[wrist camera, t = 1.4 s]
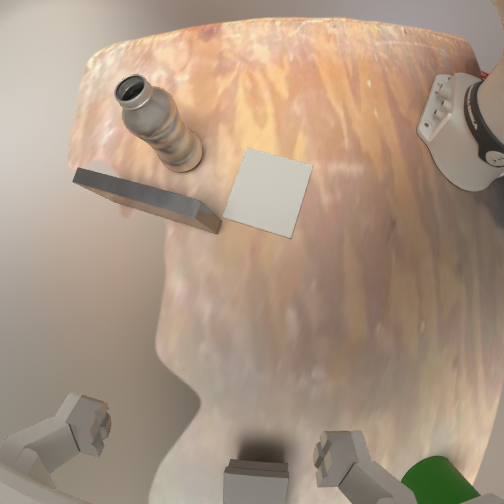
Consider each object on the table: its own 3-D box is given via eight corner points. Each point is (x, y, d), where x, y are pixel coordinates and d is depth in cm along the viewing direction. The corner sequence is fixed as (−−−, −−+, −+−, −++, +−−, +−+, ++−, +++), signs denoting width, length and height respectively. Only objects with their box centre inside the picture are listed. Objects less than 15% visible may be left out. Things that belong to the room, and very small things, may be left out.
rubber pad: (247, 149, 47) (246, 147, 46) (312, 167, 45) (312, 166, 45) (223, 217, 46) (222, 217, 45) (290, 238, 45) (290, 238, 44)
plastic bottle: (192, 182, 47) (136, 122, 27) (157, 166, 48) (91, 106, 28) (213, 146, 47) (172, 70, 27) (178, 131, 48) (125, 58, 28)
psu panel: (119, 188, 48) (78, 165, 36) (222, 219, 46) (201, 198, 34) (114, 202, 48) (72, 181, 36) (217, 234, 46) (194, 218, 34)
